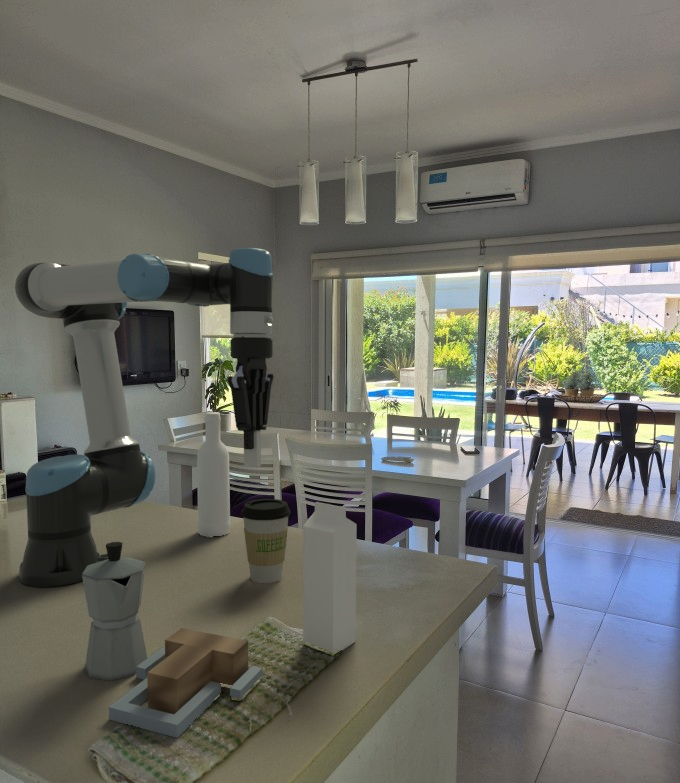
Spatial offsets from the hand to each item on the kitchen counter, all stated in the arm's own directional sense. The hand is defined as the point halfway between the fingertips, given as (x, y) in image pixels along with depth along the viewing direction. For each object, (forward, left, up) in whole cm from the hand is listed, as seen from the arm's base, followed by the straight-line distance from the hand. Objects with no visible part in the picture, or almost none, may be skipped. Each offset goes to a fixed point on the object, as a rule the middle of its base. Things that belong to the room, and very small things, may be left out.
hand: (252, 465), depth 112 cm
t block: (+7, -31, -25) cm, 40 cm away
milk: (+20, -12, -25) cm, 34 cm away
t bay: (+7, -33, -24) cm, 41 cm away
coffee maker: (-7, -28, -25) cm, 38 cm away
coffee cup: (-2, +9, -25) cm, 26 cm away
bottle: (-28, +31, -25) cm, 48 cm away
